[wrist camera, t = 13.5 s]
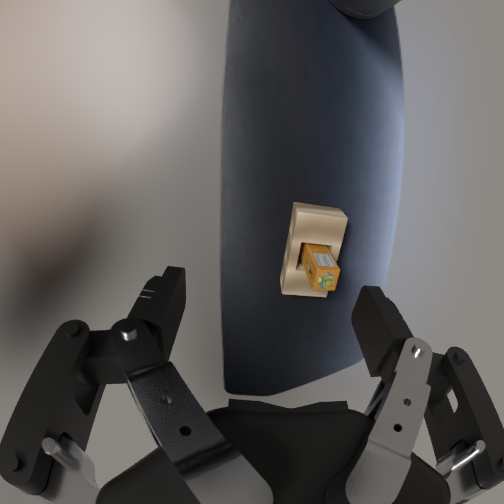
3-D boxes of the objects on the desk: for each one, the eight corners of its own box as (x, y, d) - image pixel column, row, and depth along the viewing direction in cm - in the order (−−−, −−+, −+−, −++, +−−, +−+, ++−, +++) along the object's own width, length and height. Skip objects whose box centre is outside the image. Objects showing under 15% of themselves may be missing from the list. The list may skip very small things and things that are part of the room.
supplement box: (320, 255, 43) (334, 293, 34) (298, 254, 43) (309, 291, 34) (324, 236, 41) (341, 270, 33) (302, 234, 41) (314, 268, 32)
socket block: (294, 202, 39) (297, 211, 36) (340, 208, 39) (347, 218, 36) (280, 279, 45) (281, 293, 42) (321, 282, 45) (326, 297, 42)
